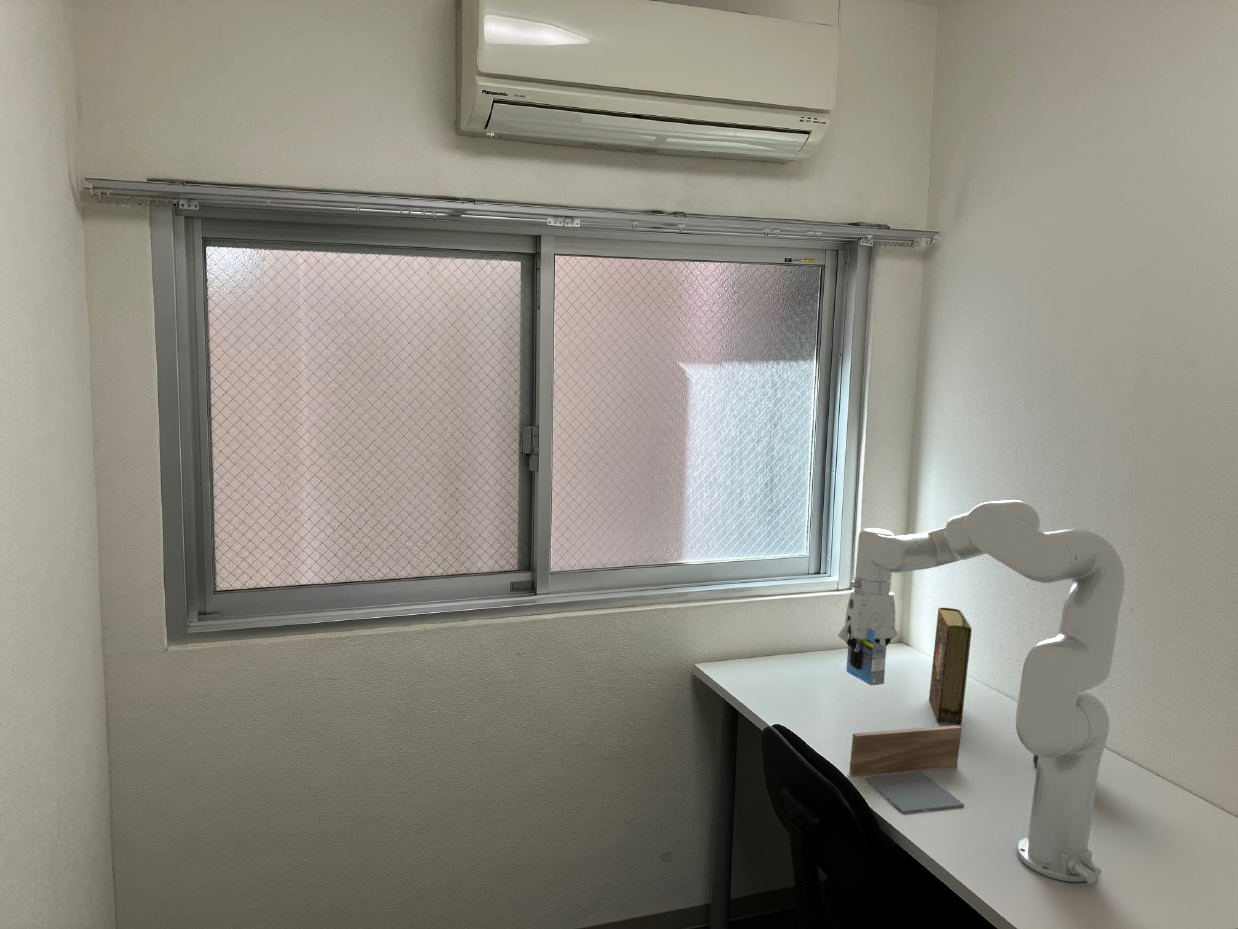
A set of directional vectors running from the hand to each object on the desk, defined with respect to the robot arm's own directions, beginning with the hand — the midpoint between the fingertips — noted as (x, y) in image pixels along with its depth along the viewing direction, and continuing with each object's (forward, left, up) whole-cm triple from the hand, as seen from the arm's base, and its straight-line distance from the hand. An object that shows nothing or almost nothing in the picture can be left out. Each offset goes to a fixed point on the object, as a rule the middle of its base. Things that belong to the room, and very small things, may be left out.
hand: (865, 666), depth 192 cm
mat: (-17, -3, -21) cm, 27 cm away
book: (+18, -36, -21) cm, 45 cm away
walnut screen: (-8, -7, -21) cm, 23 cm away
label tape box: (0, 0, -3) cm, 3 cm away
